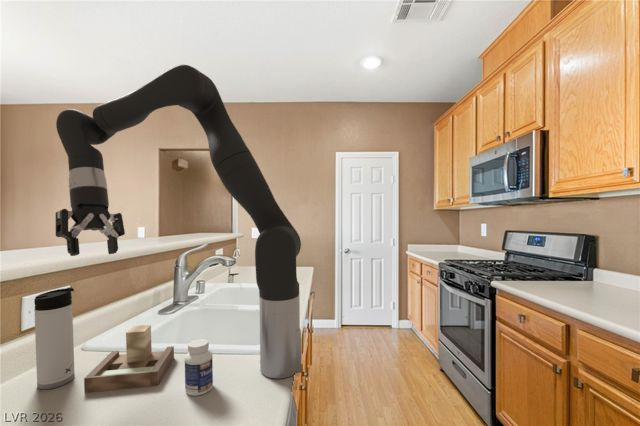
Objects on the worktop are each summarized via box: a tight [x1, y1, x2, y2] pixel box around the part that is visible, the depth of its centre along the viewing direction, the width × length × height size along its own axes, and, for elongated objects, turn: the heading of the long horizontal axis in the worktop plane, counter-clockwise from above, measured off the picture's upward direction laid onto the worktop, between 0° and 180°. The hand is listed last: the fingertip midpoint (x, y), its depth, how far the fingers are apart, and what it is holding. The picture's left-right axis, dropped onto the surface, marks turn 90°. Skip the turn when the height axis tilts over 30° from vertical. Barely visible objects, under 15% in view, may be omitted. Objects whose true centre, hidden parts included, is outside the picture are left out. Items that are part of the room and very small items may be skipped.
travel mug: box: [33, 286, 76, 390], centre depth 68 cm, size 6×7×20 cm
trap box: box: [83, 345, 175, 394], centre depth 71 cm, size 14×12×3 cm
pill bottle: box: [184, 338, 214, 397], centre depth 65 cm, size 5×5×10 cm
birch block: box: [125, 324, 153, 363], centre depth 75 cm, size 4×4×7 cm
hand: (94, 254), depth 75 cm, fingers open, 8 cm apart
